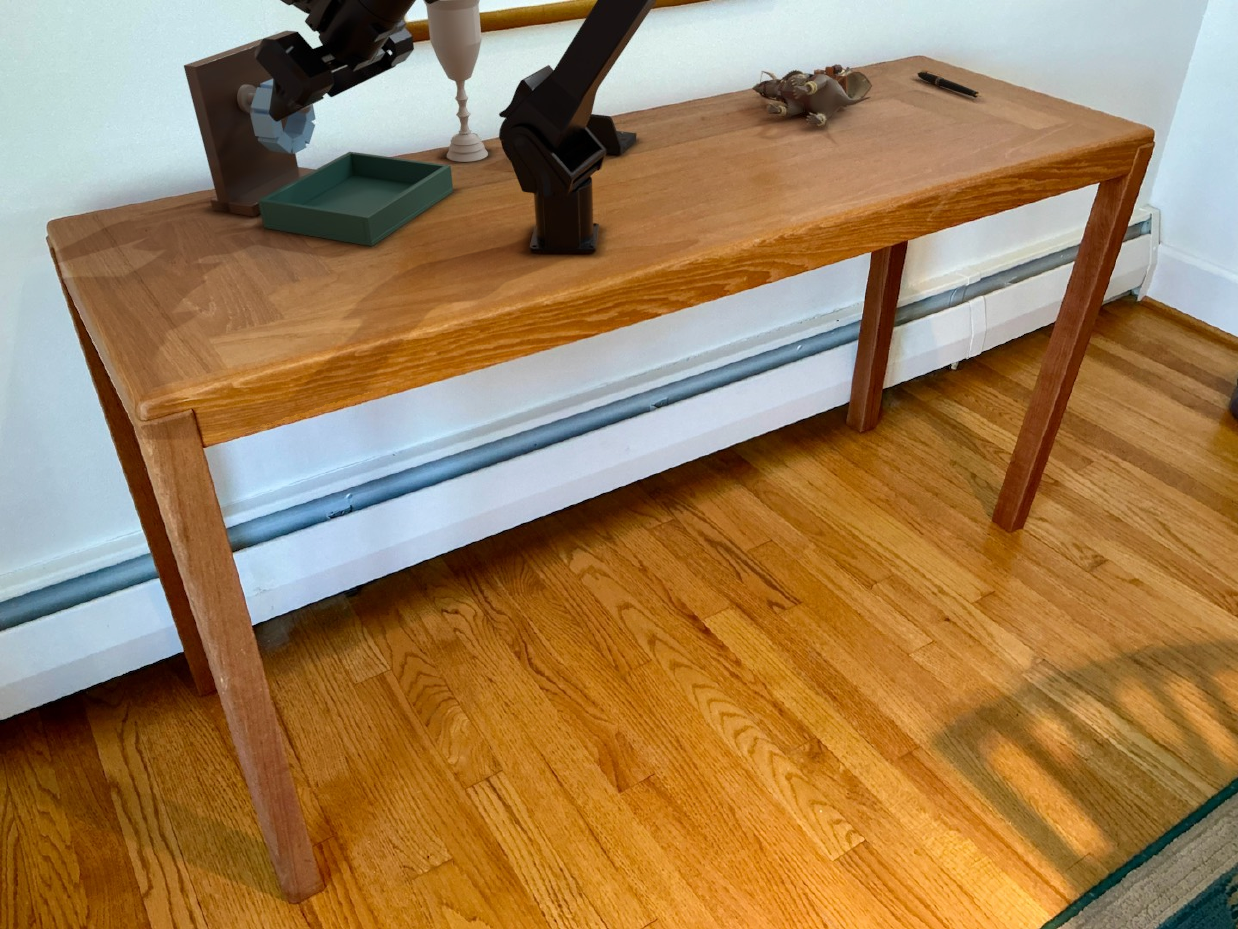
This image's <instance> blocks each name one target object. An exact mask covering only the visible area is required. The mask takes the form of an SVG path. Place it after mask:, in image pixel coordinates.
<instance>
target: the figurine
mask: <svg viewBox="0 0 1238 929" xmlns="http://www.w3.org/2000/svg"><path fill="white" fill-rule="evenodd" d="M763 74H766V75H768V76H769V77H770V78H771V79H770V80H769V79H768V80H764V81H763V80H762V78H763ZM872 87H873V84H872V82H871V80H870V79H869V78H868V76H867V75H866V74H865V73H863V72H862V71H860V70H853V69H851V68H850V67H849V66H847V67H846V69H845V67H843V66H842V65H841V64H837V63H835V64H834V65H831V66H825V68H824V69H819V68H818V69H813V73H807V72H803V71H802V70H798V69H793V70H791V71H788V73H786V74H785V75H784V76H782V78H781V79H780V78H778V77H777V76H776V75H775V74H774V73H773V72H769V71H765V70H761V74H760V79H759V83H756V84H755V85H753V87H752V88H751V90H753V91H755V92H756V93H758V94H759V96H760V97H762V98H763V99H765V100H769V101H775V102H781V103H783V104H784V105H785V106H786V107H785V106H783V105H782V104H781V105H778V106H776V105H775V104H774V103H772V102H768V104H769V105H767V106H766V109H765V110H766V111H767V113H766V115H777V116H779V117H780V118H781V117H784V116H788V117H789V116H790V117H791V116H796V115H799V114H803V113H804V112H806V113H808V114H809V115H806V119H805V120H806V122H807V123H806V125H809V126H811V125H816V126H818V127H821V126H825V123H826V121H827V120H829V119H830V118H831V117H832V116H834V115H835V114H836V113H837V112H838V111H839V110H840V109H841V108H846V107H848V106H854V105H855V106H856V105H857V104H859V103H862V102H864V101H867V100H869V99H871V96H867V94H868V93H869V92H870V91H871V89H872Z"/></svg>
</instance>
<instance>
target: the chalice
mask: <svg viewBox="0 0 1238 929" xmlns="http://www.w3.org/2000/svg"><path fill="white" fill-rule="evenodd" d="M422 1H423V2H424V5H425V6H426V13H427V14H426V16H427V23H428V24H427V25H428V33H429V40H430V45H431V47H432V49H433V51H434V54H435V56H436V58H437V61H438V62H439V64H440V66H441V68H442V70H443V72H444V73H445V75H446V77H447V78H448V79H449V80H451V81H454V82H455V85H456V96H455V97H454V99H455V101H456V102H457V104H458V111H457V112H456V114H455V116H456V117H457V118H458V119H459V122H460V123H459V124H460V129H459V130H458V133H456V134H454V135H453V136H452V138H451V139H450V143H449V146H448V152H447V154H446V158H447V159H448V160H450V161H453V162H460V163H466V162H467V163H470V162H476V161H480V160H483V159H485V158H487V157H488V155H489V152H488V151H487V150H486V148H485V144H484V143H483V142H482V138H481V137H480V136H479V135H478V134H477V133H475V132H472V130H471V129H470V126H469V117H470V116H471V111H469V110H468V108H467V104H468V103H467V102H468V100H469V96H468V95H467V92H466V89H465V84H466V81H468V80H469V79H471V78H472V76H473V73H474V70H475V67H476V64H477V61H478V58H479V54H480V50H481V44H482V41H483V40H482V29H481V17H480V1H481V0H440V1H437V2H435V3H432V4H428V3H426V1H425V0H422Z"/></svg>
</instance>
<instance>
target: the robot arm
mask: <svg viewBox="0 0 1238 929" xmlns="http://www.w3.org/2000/svg"><path fill="white" fill-rule="evenodd" d="M279 1H280V2H282V3H284V4H285V5H287V6H293V7H295V8H296V9H298V10H300V11H301V12H303V13H305V14H306V15H307V16H306V18H305V20H304V23H305V24H306V25H307V26H308V27H309V29H310V30H311V31H312V32H317V33H318V40H319V42H320V44H321V45H319V46H316V47H314V48H313V47H312V46H311V45H310V43H308V41H307V40H306V39H305V38H304V37H303V35H301V33H300V32H299V31H297V30H296V31H295V30H284V31H281V32H278V33H275V34H272V35H269V36H266V37H263V38H262V39H263V40H262V41H261V43H260V44H259V46H258V48H257V49H256V51H255V59H256V60H257V61H258V62H259V63H260V64H261V66H262V67H263V68H264V69H265V70H266V71H267V72H268V73H269V74H270V75H271V77H272V78H273V88H272V95H271V102H270V109H269V115H270V116H271V117H272V118H273V119H274V121H276V122H278V121H280V120H282V119H284V118H286V117H288V116H290V115H292V114H294V113H296V112H298V111H300V110H302V109H304V108H306V107H308V106H310V105H312V104H313V105H314V104H316V103H318V102H320V101H322V100H324V98H325V97H324V96H325V95H328V97H330V98H334V97H336V96H338V95H340V94H343V93H345V92H346V91H348V90H350V89H352V88H354V87H356V86H359V85H360V84H363V83H366V82H367V81H369V80H371V79H373V78H375V77H377V76H379V75H381V74H384V73H386V72H388V71H390V70H391V69H394V68H396V66H397V65H399V64H401V63H405V62H406V61H407V59H408V58H409V57H410V56H411V54H412V53H413V52H414V50H415V46H414V38H413V35H412V33H410V32H409V30H408V29H407V28H406V26H407V24H408V23H407V22H406V21H405V20H404V18H405V17H406V15H407V13H408V12H409V11H410V9H411V8H412V7H413V6H414V4H415V2H416V1H417V0H279ZM425 1H426V3H428V4H432V3H435V2H437V1H440V0H425ZM657 1H658V0H596V2H595V3H594V5H593V6H592V8H591V10H590V11H589V13H588V15H587V16H586V18H585V20H584V21H583V23H582V24H581V25H580V27H579V29H578V31H577V32H576V34H574V35H575V36H574V37H573V38H572V40H571V42H570V43H569V45H568V47H567V48H566V49H565V52H563V55H562V56H561V58H560V60H559V61H558V63H556V65H555V67H554V69H553V68H552V66H551V65H550V64H548V65H546V66H544V67H542V68H540V69H538V70H537V71H534V72H533V73H532V74H530V75H528V76H526V77H525V78H522V79H521V80H520V81H519V83H518V85H517V86H516V89H515V91H514V94H513V97H512V99H511V101H510V103H509V104H508V106H507V107H506V108H505V109H504V110H502V111H500V112H499V113H498V116H499V117H500V118H502V119H503V118H504V120H503V121H502V123H501V125H500V128H499V133H498V139H499V140H500V143H501V148H502V150H503V153H504V154H505V157H506V158H507V159H508V161H509V162H510V163H511V166H512V169H513V171H514V174H515V176H516V179H517V181H518V184H519V187H520V189H521V191H522V192H523V193H528V194H533V199H534V200H533V202H534V218H535V225H534V229H533V232H532V235H531V239H530V240H531V241H530V243H529V251H530V252H531V253H560V254H561V253H563V254H564V253H565V254H566V253H568V254H569V253H571V254H572V253H573V254H574V253H579V254H580V253H581V254H582V253H584V254H592V253H595V252H597V247H598V241H599V240H598V239H599V231H600V224H599V223H597V222H594V198H593V177H592V176H593V174H595V173H596V172H598V171H600V170H601V169H602V167H603V165H604V161H605V159H606V155H607V153H606V152H607V151H606V149H605V148H604V147H603V145H602V144H601V143H600V142H599V141H598V140H597V138H596V137H595V136H594V135H593V134H592V133H591V132H590V130H589V129H588V128H587V127H586V125H587V123H588V121H589V119H590V116H591V114H593V110H594V106H595V101H596V95H597V93H598V90H599V88H600V86H601V84H602V83H603V82H604V81H605V79H606V77H607V76H608V74H609V73H610V71H611V70H612V69H613V67H614V66H615V64H616V62H617V61H618V59H619V58H620V56H621V55H622V54H623V52H624V51H625V49H626V48H627V46H628V45H629V43H630V42H631V40H632V39H633V37H634V35H635V34H636V32H638V29H639V28H640V27H641V25H642V24H643V22H644V20H645V19H646V18H647V17H648V14H649V13H650V12H651V10H652V9H653V7H654V6H655V4H656V3H657ZM389 52H391V54H390V53H389Z"/></svg>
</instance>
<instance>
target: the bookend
mask: <svg viewBox="0 0 1238 929" xmlns="http://www.w3.org/2000/svg"><path fill="white" fill-rule="evenodd" d="M586 127H587V128H588V129H589V130H590V132H591V133H592V134H593V135H594V136H595V137H596V138H597V140H598V141H599V142H600V143H601V144H602V145H603V147H604V148H605V149H606V151H607V152H606V154H608V155H609V154H610V155H616V156H617V155H618V156H620V155H622V154H623V153H624V152H625V151H627V149H629V148H630V147H631V146H632V145H633V144H635V142H636V141H637V133H636V132H630V131H622V130H617V128H616V126H615V123H614V120H613V118H612V117H611V116H610V115H603V114H597V113H592V114H591V116H590V119H589V121H588V123H587V125H586Z"/></svg>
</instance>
